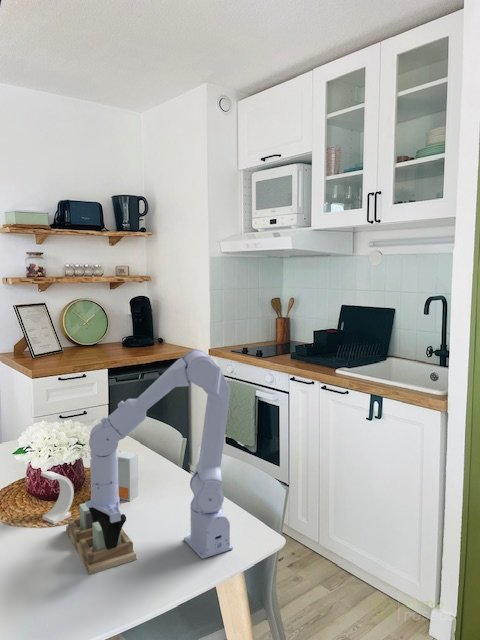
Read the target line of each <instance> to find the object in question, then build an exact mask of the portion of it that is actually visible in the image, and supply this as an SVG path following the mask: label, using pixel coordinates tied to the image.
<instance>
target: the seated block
mask: <svg viewBox="0 0 480 640" xmlns="http://www.w3.org/2000/svg"><path fill="white" fill-rule="evenodd" d="M78 505H79V517H80V529H81V531H82V530H86V529H89V528H92V523H93V520H92V516H91V513H90V510H89V508H87V506H86V502H84V503H80V504H78Z"/></svg>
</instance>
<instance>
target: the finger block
mask: <svg viewBox="0 0 480 640" xmlns="http://www.w3.org/2000/svg"><path fill="white" fill-rule="evenodd" d="M92 530H93V550H94V552H95V551H99V550H102V549H106V546H105V542H104V536H103V531H102V528H101V526H100V524H99V522H95V523H92ZM119 544H121V531H120V535H119V539H118V544H117V545H119Z"/></svg>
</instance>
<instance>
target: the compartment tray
mask: <svg viewBox="0 0 480 640" xmlns="http://www.w3.org/2000/svg"><path fill="white" fill-rule="evenodd" d="M65 528H66V533H67V535H68V537H69V538H70V540H71V542H72V544H73V546H74V548H75V549H76V551H77V553H78V555H79V556H80V559H81V560H82V562H83V564H84V566H85V568H86V570H87V571H88V573H89V575H91V574H95V573H98V572H101V571H105V570H108V569H110V568H114V567H116V566H120V565H121V566H122V565H123V564H126V563H130V562H133V561H136V560H137V553H136V552H135V550H134V542H133V541H132V540H131V538H130V537H129V535H127V533H126V531H125V530H124V529H123V528H122V529H121V544H119V545H117V547H116V548H112V549H109V550H107V549H102V550H99V551H95V552H94V550H93V530H92V528H89V529H86V530H82V531H81V529H80V516H77V517H73V518H70V519H68V525H66V526H65Z"/></svg>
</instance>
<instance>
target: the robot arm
mask: <svg viewBox="0 0 480 640" xmlns="http://www.w3.org/2000/svg"><path fill="white" fill-rule="evenodd" d="M189 381H190V382H191V383H192V384H194V385H195V386H197V387H199V388H201V389H203V391H204V393H206V395H207V397H206V404H205V413H204V418H203V419H204V422H203V429H202V436H201V442H200V450H199V458H198V462H197V464H196V466H195V470H194V471H195V472H194V473H193V474H192V476H191V478H190V481H189V487H190V489H191V492H192V494H193V497H192V500H191V502H190V535H186V536H183V540H184V541H185V542H186V544H187V545H188V546H189V547H190V548H191V549H192V550H193V551H194V552H195V553H196V554H197V556H199V557H200V558H201V559H203V560H204V559H206V558H209V557H213V556H215V555H218V554H222V553H225V552H227V551H231V550H233V549H234V545H232V543H231V539H230V538H231V537H230V535H231V533H230V532H231V531H230V529H231V527H230V525H231V524H230V521H229V519H228V518H227V517H226V515H225V513H224V510H223V503H224V498H225V496H224V492H223V489H222V482H223V479H222V471H221V467H222V466H221V465H222V457H223V450H224V445H225V444H224V442H225V435H226V428H227V427H226V426H227V421H228V414H229V405H230V400H231V399H230V398H231V387H230V385H229V383H228V382H227V380H226V377H225V375H224V373H223V372H222V369H221V367H220V365H218V364H217V363H216V362H215V361H214V359H212V358H211V356H209V355H208V354H207V353H206V352H205V351H203V350H202V349H201V350H200V349H197V348H195V349H191V350H189V351H188V352H186V353H184V356H183V357H180V358H178V359H177V360H176V361H174V363H172V365H170V366H169V367H168V368H167V369H166V370H165V371H164V372H163V373H162V374H161V375H159V377H158V378H157V379H156V380H155V381H154V382H153V383H152V384H151V385H149V387H147V388H146V389H145V391H143V392H142V393H141V394H140V395H139V396H138V397H137V398H128V399H126V400H125V401H124V400H121V401H120V402H118V403H117V408H116V409H115V410H114V411H113V412H111V413H110V414H109V415H108V416H107V417H102V419H101V420H100V422H98V423H97V424H95V425H94V426H93V427H92V429H91V431H90V434H89V440H88V444H89V445H88V446H89V449H90V460H89V461H90V462H89V464H90V465H89V466H90V467H89V468H90V471H89V472H90V499H89V500H86V501H85V503H86V506H87V508H89V510H90V513H91V516H92V520H93V523H95V522H99V524H100V526H101V528H102V531H103V536H104V542H105V546H106V549H107V550H109V549H112V548H116V547H117V544H118V539H119V535H120V531H121V529H123V526H124V525H125V523H126V521H127V516H126V514H124V513H122V514H121V511H120V500H121V499H120V498H119V492H118V458H117V456H116V453H117V449H118V447H119V442H120V441H121V440H124V439H125V438H126V437H127V436H128V435H129V434H130V433H132V432H133V431H134V430H135V429H136V428H137V427H138V426H139V425H141V424H142V422H144V421H145V420H146V419H147V412H148V410H149V409H150V408H151V407H153V405H155V404H156V403H158V402H159V401H161V399H163V398H164V397H165V396H166V395H168V393H170V392H171V391H172V390H173V389H175V388H178V387H190V384H189Z"/></svg>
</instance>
